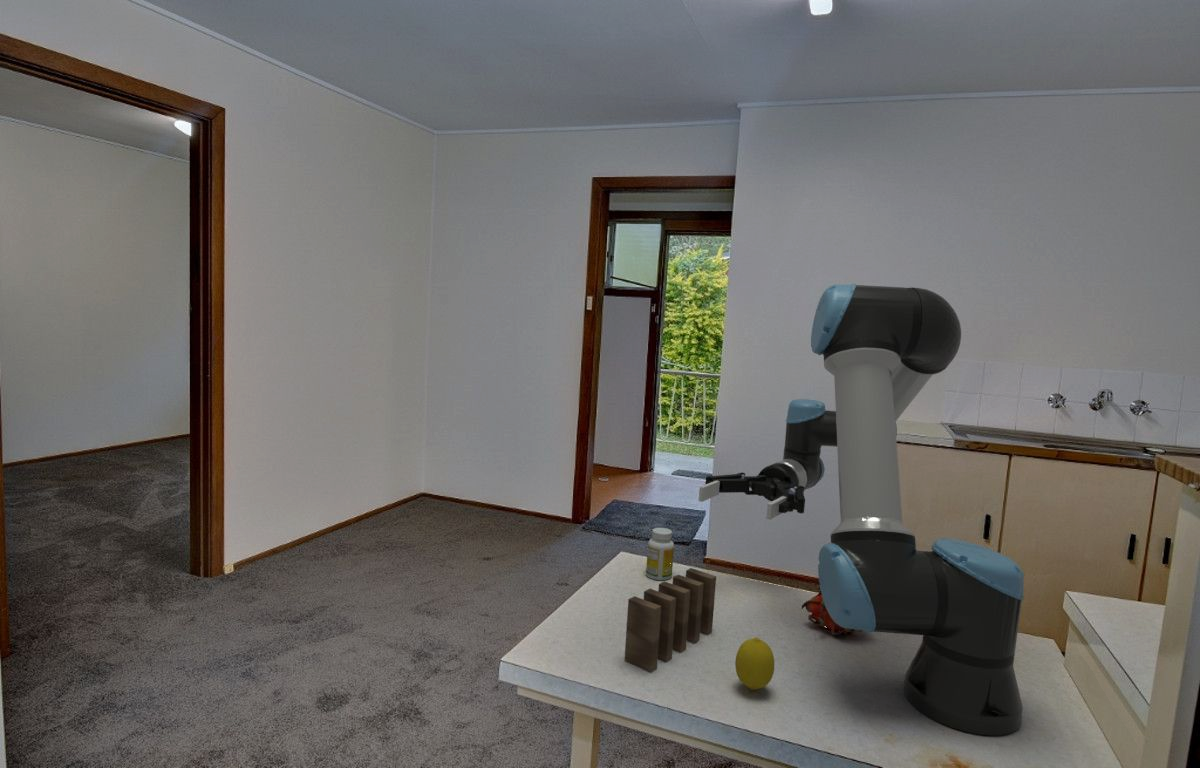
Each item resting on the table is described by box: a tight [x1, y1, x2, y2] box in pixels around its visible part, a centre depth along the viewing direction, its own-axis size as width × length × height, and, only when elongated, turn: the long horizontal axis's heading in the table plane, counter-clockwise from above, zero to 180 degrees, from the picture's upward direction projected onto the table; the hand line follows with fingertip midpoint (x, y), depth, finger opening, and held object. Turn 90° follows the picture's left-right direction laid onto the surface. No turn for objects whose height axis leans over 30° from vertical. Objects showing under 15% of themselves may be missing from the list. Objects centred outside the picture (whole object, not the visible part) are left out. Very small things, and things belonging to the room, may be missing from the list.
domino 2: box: [643, 588, 676, 663], centre depth 110 cm, size 5×2×10 cm, turn 51°
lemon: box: [735, 636, 775, 692], centre depth 101 cm, size 6×6×8 cm
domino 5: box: [685, 567, 717, 636], centre depth 119 cm, size 5×2×10 cm, turn 51°
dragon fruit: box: [801, 589, 864, 636], centre depth 122 cm, size 8×8×12 cm
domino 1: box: [624, 595, 661, 673], centre depth 106 cm, size 5×2×10 cm, turn 51°
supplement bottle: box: [645, 527, 675, 581], centre depth 142 cm, size 5×5×10 cm
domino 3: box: [657, 580, 690, 654], centre depth 113 cm, size 5×2×10 cm, turn 51°
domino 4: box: [672, 574, 704, 645], centre depth 116 cm, size 5×2×10 cm, turn 51°
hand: (733, 502), depth 125 cm, fingers open, 13 cm apart
